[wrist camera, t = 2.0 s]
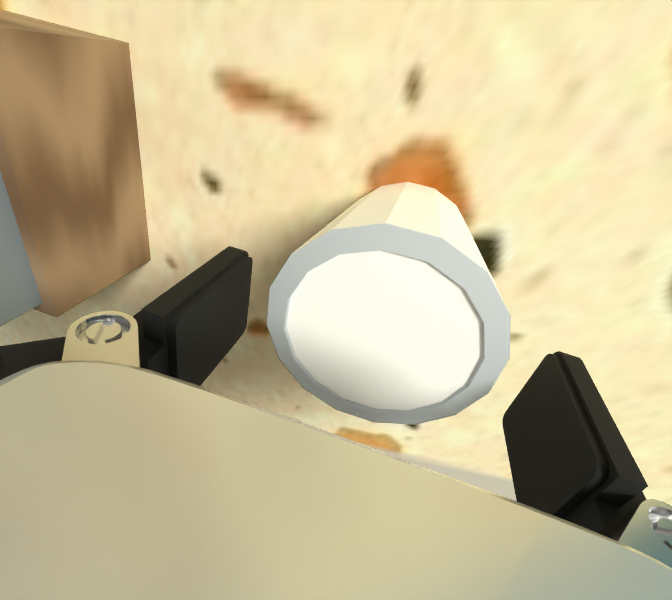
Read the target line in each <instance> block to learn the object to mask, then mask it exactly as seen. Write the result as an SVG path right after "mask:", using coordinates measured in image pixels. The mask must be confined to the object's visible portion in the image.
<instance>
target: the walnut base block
mask: <svg viewBox="0 0 672 600" xmlns="http://www.w3.org/2000/svg"><path fill="white" fill-rule="evenodd" d="M0 172H1V175H2V178H3V181H4V184H5V187H6V190H7V193H8V196H9V200H10V203H11V206H12V209H13V212H14V215H15V218H16V221H17V224H18V228H19V231H20V234H21V237H22V240H23V243H24V246H25V249H26V253H27V256H28V259H29V262H30V265H31V268H32V271H33V274H34V277H35V281H36V284H37V287H38V290H39V293H40V296H41V299H42V302H43V303H42V304H40V305H38V306H36V307H34V308H33V309H35V310H38V311H41V312H44V313H47V314H49V315H52V316H55V317H58V316H59V315H61V314H63V313H64V312H66V311H68V310H69V309H71V308H73V307H74V306H76V305H77V304H79V303H81V302H82V301H84V300H86V299H87V298H89V297H91V296H92V295H94V294H96V293H97V292H99V291H100V290H102V289H104V288H105V287H107V286H109V285H110V284H112V283H114V282H115V281H117V280H118V279H120V278H122V277H123V276H125V275H127V274H128V273H130V272H132V271H133V270H135V269H137V268H138V267H140V266H141V265H143V264H145V263H146V262H148V261H150V260H151V259H150V249H149V239H148V229H147V219H146V210H145V200H144V190H143V180H142V170H141V161H140V151H139V141H138V131H137V121H136V111H135V102H134V92H133V82H132V72H131V62H130V52H129V43H126V42H123V41H119V40H115V39H111V38H107V37H104V36H100V35H96V34H92V33H88V32H84V31H81V30H77V29H73V28H69V27H65V26H62V25H58V24H54V23H50V22H46V21H43V20H39V19H35V18H31V17H27V16H24V15H20V14H16V13H12V12H8V11H4V10H1V9H0Z"/></svg>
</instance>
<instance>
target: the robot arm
mask: <svg viewBox="0 0 672 600" xmlns="http://www.w3.org/2000/svg"><path fill="white" fill-rule="evenodd" d="M251 274H252V258H251V257H248V253H247V252H246V251H243V250H240V249H237V248H234V247H230V246H229V247H227V248H226V249H225V250H223V251H222V252H220V253H219V254H218V255H216V256H215V257H213V258H212V259H211V260H209V261H208V262H206V263H205V264H204V265H202V266H201V267H200V268H198V269H197V270H195V271H194V272H193V273H191V274H190V275H188V276H187V277H186V278H184V279H183V280H182V281H180V282H179V283H177V284H176V285H175V286H173V287H172V288H170V289H169V290H168V291H166V292H165V293H163V294H162V295H161V296H159V297H158V298H157V299H155V300H154V301H152V302H151V303H150V304H148V305H147V306H145V307H144V308H143V309H141V311H140V312H139V313H137V314H136V315H134V316H133V317H132V316H131V315H129V314H127V313H124V312H119V311H100V312H94V313H91V314H88V315H85V316H83V317H81V318H79V319H77V320H76V321H74V322H73V323H72V324H71V325H70V326H69V328H68V331H67V334H66V337H61V338H54V339H47V340H40V341H34V342H27V343H20V344H13V345H6V346H0V600H672V506H670V505H668V504H666V503H664V502H661V501H658V500H654V499H651V500H646V498H645V496H644V494H643V492H642V491H643V490H644V489H645V488H646V487H648V485H647V483H646V481H645V479H644V477H643V476H642V474H641V472H640V470H639V468H638V466H637V464H636V462H635V460H634V458H633V457H632V455H631V453H630V451H629V449H628V447H627V445H626V443H625V441H624V439H623V438H622V436H621V434H620V432H619V430H618V428H617V426H616V424H615V422H614V420H613V418H612V417H611V415H610V413H609V411H608V409H607V407H606V405H605V403H604V401H603V399H602V398H601V396H600V394H599V392H598V390H597V388H596V386H595V384H594V382H593V380H592V379H591V377H590V375H589V373H588V371H587V369H586V367H585V365H584V363H583V361H582V360H581V359H580V358H578V357H575V356H572V355H569V354H566V353H563V352H559V351H558V352H555V353H554V354H548V355H546V357H545V358H544V359H543V361H542V362H541V363H540V365H539V366H538V367H537V369H536V370H535V372H534V373H533V374H532V376H531V377H530V379H529V380H528V381H527V383H526V384H525V386H524V387H523V388H522V390H521V391H520V393H519V394H518V395H517V397H516V398H515V400H514V401H513V402H512V404H511V405H510V407H509V408H508V409H507V411H506V412H505V414H504V417H503V429H504V434H505V440H506V445H507V451H508V456H509V461H510V467H511V472H512V478H513V483H514V488H515V494H516V499H517V502H516V501H514V500H511V499H508V498H506V497H503V496H500V495H498V494H495V493H492V492H489V491H487V490H484V489H481V488H479V487H476V486H473V485H471V484H468V483H465V482H463V481H460V480H457V479H455V478H452V477H449V476H447V475H444V474H441V473H439V472H436V471H433V470H431V469H428V468H425V467H422V466H420V465H417V464H414V463H412V462H409V461H406V460H403V459H401V458H398V457H395V456H392V455H390V454H387V453H384V452H382V451H379V450H376V449H373V448H371V447H368V446H365V445H362V444H360V443H357V442H354V441H351V440H349V439H346V438H343V437H341V436H338V435H335V434H332V433H330V432H327V431H324V430H321V429H319V428H316V427H313V426H310V425H308V424H305V423H302V422H299V421H296V420H294V419H291V418H288V417H285V416H283V415H280V414H277V413H274V412H271V411H269V410H266V409H263V408H260V407H258V406H255V405H252V404H249V403H246V402H244V401H241V400H238V399H235V398H233V397H230V396H227V395H224V394H221V393H218V392H215V391H213V390H210V389H207V388H204V387H201V386H200V385H201V384H202V383H203V382H204V381H205V379H206V378H207V377H208V376H209V375H210V373H211V372H212V371H213V370H214V368H215V367H216V366H217V365H218V364H219V362H220V361H221V360H222V359H223V358H224V356H225V355H226V354H227V353H228V351H229V350H230V349H231V348H232V347H233V345H234V344H235V343H236V342H237V341H238V339H239V338H240V337H241V336H242V334H243V333H244V331H245V329H246V325H247V316H248V305H249V295H250V284H251Z"/></svg>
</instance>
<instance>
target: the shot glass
mask: <svg viewBox="0 0 672 600" xmlns="http://www.w3.org/2000/svg"><path fill="white" fill-rule="evenodd" d="M510 318H511V315H510V313H509V311H508V309H507V307H506V305H505V303H504V301H503V299H502V297H501V295H500V293H499V291H498V289H497V287H496V285H495V282H494V280H493V278H492V276H491V274H490V272H489V270H488V268H487V266H486V264H485V262H484V260H483V258H482V256H481V254H480V252H479V249H478V247H477V245H476V243H475V241H474V239H473V237H472V235H471V233H470V231H469V229H468V227H467V225H466V223H465V221H464V219H463V217H462V215H461V214H460V212H459V210H458V208H457V206H456V205H455V204H454V203H453V202H452V201H450V200H449V199H448V198H446V197H445V196H444V195H442V194H441V193H440V192H438V191H437V190H436V189H435V188H431V187H427V186H423V185H419V184H415V183H410V182H403V183H397V184H390V185H384V186H380V187H378V188H377V189H375V190H373V191H372V192H370V193H368V194H367V195H365V196H364V197H362V198H360V199H359V200H358V201H356V202H355V203H354V204H353V205H351V206H350V207H349V208H348V209H346V210H345V211H344V212H343V213H341V214H340V215H339V216H338V217H336V218H335V219H334V220H333V221H331V222H330V223H329V224H328V225H326V226H325V227H324V228H323V229H321V230H320V231H319V232H318V233H316V234H315V235H314V236H313V237H311V238H310V239H309V240H308V241H307V242H305V243H304V244H303V245H302V246H300V247H299V248H298V249H297V250H295V251H294V252H293V253H292V254H291V255H290V256H289V258H288V260H287V261H286V263H285V264H284V266H283V268H282V269H281V271H280V272H279V274H278V275H277V277H276V279H275V280H274V282H273V283H272V285H271V287H270V290H269V302H268V314H267V327H268V330H269V332H270V335H271V338H272V341H273V344H274V346H275V349H276V352H277V355H278V357H279V360H280V361H281V362H282V363H283V364H284V366H285V367H286V368H287V369H288V370H289V372H290V373H291V374H292V375H293V376H294V378H295V379H296V380H297V381H298V382H299V384H300V385H301V386H302V387H303V388H304V389H305V390H307V391H309V392H310V393H312V394H313V395H315V396H316V397H318V398H319V399H321V400H322V401H324V402H325V403H327V404H328V405H330V406H331V407H333V408H334V409H336V410H339V411H342V412H345V413H348V414H351V415H354V416H357V417H360V418H363V419H366V420H369V421H372V422H379V423H397V424H419V423H424V422H428V421H432V420H436V419H440V418H445V417H449V416H453V415H456V414H457V413H459V412H460V411H462V410H463V409H465V408H466V407H468V406H469V405H471V404H472V403H474V402H475V401H477V400H478V399H480V398H482V397H483V396H485V395H486V394H488V393H489V391H490V390H491V388H492V386H493V385H494V383H495V381H496V380H497V378H498V376H499V375H500V373H501V372H502V370H503V368H504V367H505V365H506V363H507V362H508V360H509V356H510Z"/></svg>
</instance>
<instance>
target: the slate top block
mask: <svg viewBox="0 0 672 600" xmlns="http://www.w3.org/2000/svg"><path fill="white" fill-rule="evenodd" d="M42 303H43V302H42V299H41V296H40V293H39V290H38V287H37V284H36V281H35V277H34V274H33V271H32V268H31V265H30V262H29V259H28V256H27V253H26V249H25V246H24V243H23V240H22V237H21V234H20V231H19V228H18V224H17V221H16V218H15V215H14V212H13V209H12V206H11V203H10V200H9V196H8V193H7V190H6V187H5V184H4V181H3V178H2V175H1V172H0V326H2V325H4V324H5V323H7V322H9V321H11V320H13V319H15V318H16V317H18V316H20V315H22V314H24V313H25V312H27V311H29V310H31V309H33V308H34V307H36V306H38V305H40V304H42Z"/></svg>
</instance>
